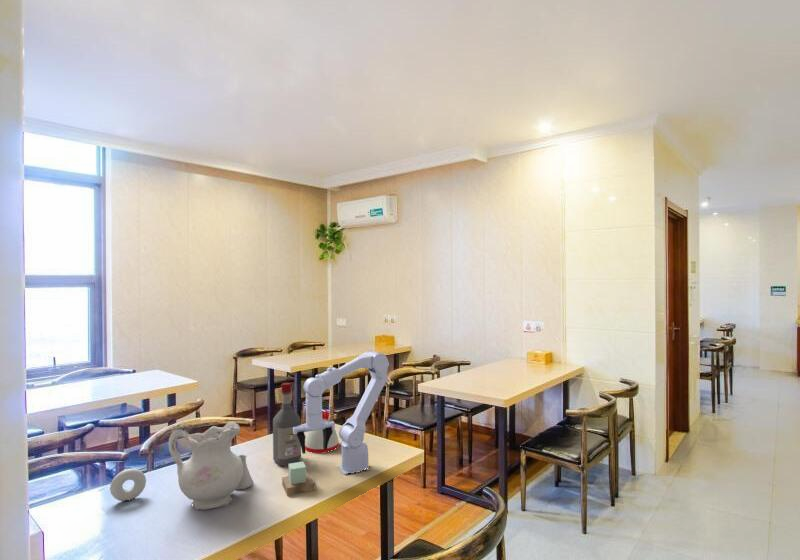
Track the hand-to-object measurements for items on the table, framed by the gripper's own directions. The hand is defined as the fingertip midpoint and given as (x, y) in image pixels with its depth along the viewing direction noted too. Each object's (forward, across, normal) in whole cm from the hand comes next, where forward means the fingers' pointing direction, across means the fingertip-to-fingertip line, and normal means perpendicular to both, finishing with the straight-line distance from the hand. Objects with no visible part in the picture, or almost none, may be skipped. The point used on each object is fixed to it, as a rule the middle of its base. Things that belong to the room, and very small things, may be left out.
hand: (314, 451), depth 162 cm
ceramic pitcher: (+10, +35, +2) cm, 36 cm away
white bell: (+10, -10, -28) cm, 31 cm away
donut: (+10, +58, -10) cm, 60 cm away
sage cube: (+7, +7, +5) cm, 11 cm away
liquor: (+10, +6, -19) cm, 22 cm away
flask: (+10, +24, -5) cm, 26 cm away
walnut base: (+10, +7, +5) cm, 13 cm away
